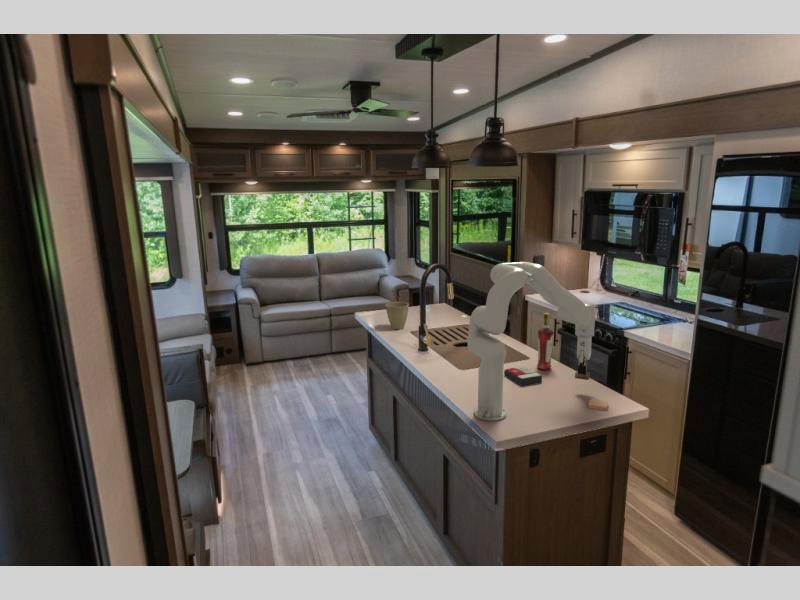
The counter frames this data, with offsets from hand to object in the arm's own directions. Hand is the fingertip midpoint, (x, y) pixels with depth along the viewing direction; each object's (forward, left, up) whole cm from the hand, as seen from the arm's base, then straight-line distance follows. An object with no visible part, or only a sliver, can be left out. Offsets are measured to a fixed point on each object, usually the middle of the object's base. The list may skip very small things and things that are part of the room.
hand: (582, 372), depth 216 cm
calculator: (+6, +27, -10) cm, 29 cm away
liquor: (+24, +20, -10) cm, 33 cm away
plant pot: (+61, +119, -10) cm, 134 cm away
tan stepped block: (0, 0, -3) cm, 3 cm away
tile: (-9, -8, -9) cm, 15 cm away
